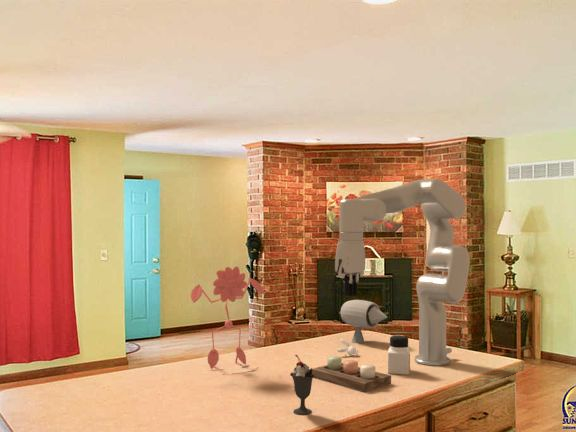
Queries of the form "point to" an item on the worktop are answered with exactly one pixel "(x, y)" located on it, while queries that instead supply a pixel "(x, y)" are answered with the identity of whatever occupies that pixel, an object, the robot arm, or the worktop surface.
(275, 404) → the worktop surface
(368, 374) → the cream egg
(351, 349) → the rabbit figurine
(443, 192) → the robot arm
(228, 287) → the figurine
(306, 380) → the sundae
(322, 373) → the button board
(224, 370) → the worktop surface
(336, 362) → the sage button
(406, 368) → the medicine bottle
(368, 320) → the jet engine
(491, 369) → the worktop surface
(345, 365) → the peach rounded dome
